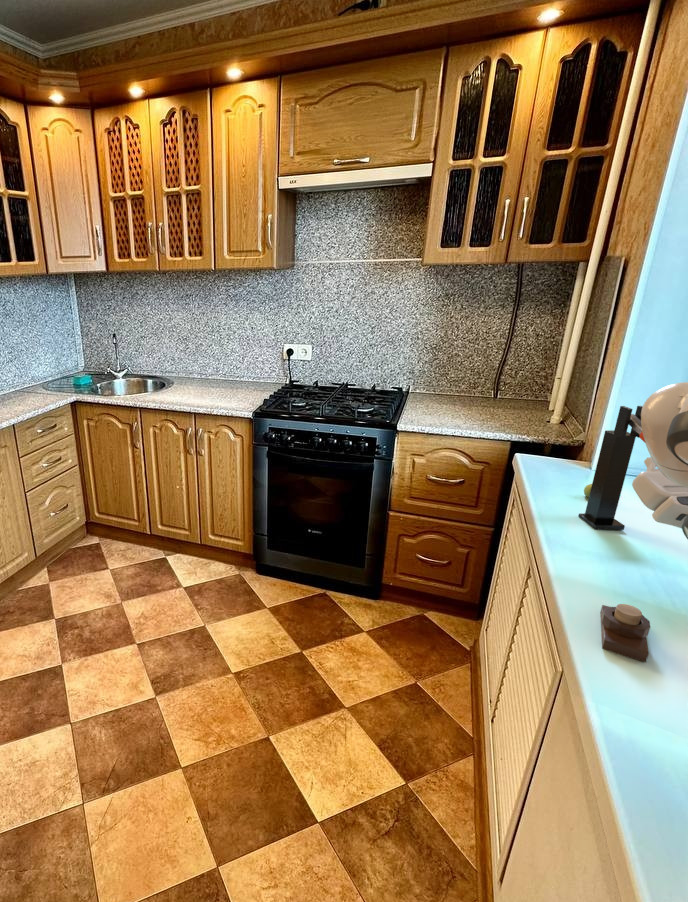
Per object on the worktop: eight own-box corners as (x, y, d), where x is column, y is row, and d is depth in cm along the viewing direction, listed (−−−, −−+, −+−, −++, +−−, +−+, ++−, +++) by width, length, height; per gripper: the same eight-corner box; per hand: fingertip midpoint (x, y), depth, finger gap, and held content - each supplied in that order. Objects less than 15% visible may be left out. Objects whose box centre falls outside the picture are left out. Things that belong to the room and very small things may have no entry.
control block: (598, 613, 101) (603, 595, 99) (641, 624, 97) (646, 606, 96) (600, 649, 91) (605, 630, 90) (647, 662, 88) (653, 643, 86)
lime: (578, 496, 150) (584, 480, 148) (594, 495, 151) (599, 480, 149) (590, 503, 146) (596, 487, 144) (606, 503, 147) (612, 486, 145)
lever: (665, 452, 116) (672, 440, 114) (650, 452, 116) (657, 440, 114) (632, 422, 126) (638, 410, 124) (618, 422, 126) (623, 410, 124)
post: (623, 529, 131) (657, 409, 120) (594, 529, 132) (625, 409, 121) (605, 517, 138) (635, 402, 127) (577, 517, 138) (605, 402, 128)
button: (613, 611, 95) (615, 601, 95) (638, 617, 93) (641, 607, 93) (614, 621, 93) (616, 611, 92) (640, 628, 91) (643, 618, 90)
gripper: (778, 503, 100) (735, 448, 109) (665, 503, 102) (631, 449, 110) (754, 521, 105) (714, 468, 114) (646, 521, 106) (615, 468, 115)
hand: (672, 459), depth 112 cm, fingers open, 8 cm apart
